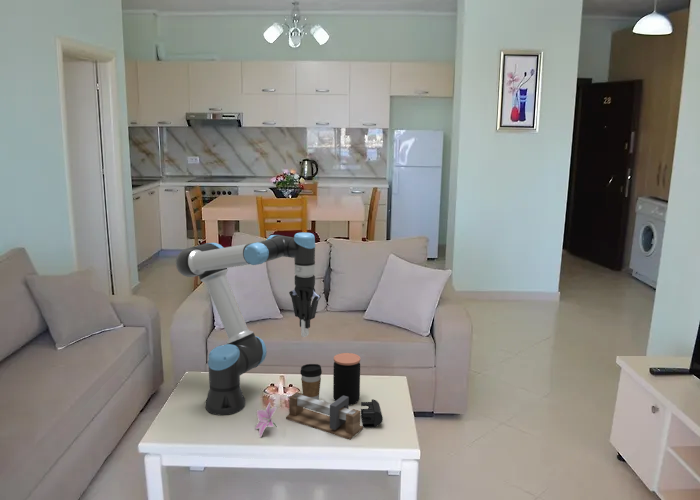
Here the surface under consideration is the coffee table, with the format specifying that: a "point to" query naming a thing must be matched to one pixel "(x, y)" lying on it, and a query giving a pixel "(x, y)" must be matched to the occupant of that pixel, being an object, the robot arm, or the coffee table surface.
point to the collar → (334, 411)
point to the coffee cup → (311, 380)
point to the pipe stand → (322, 416)
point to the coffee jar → (346, 377)
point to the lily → (265, 419)
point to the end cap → (371, 414)
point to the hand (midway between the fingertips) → (304, 335)
